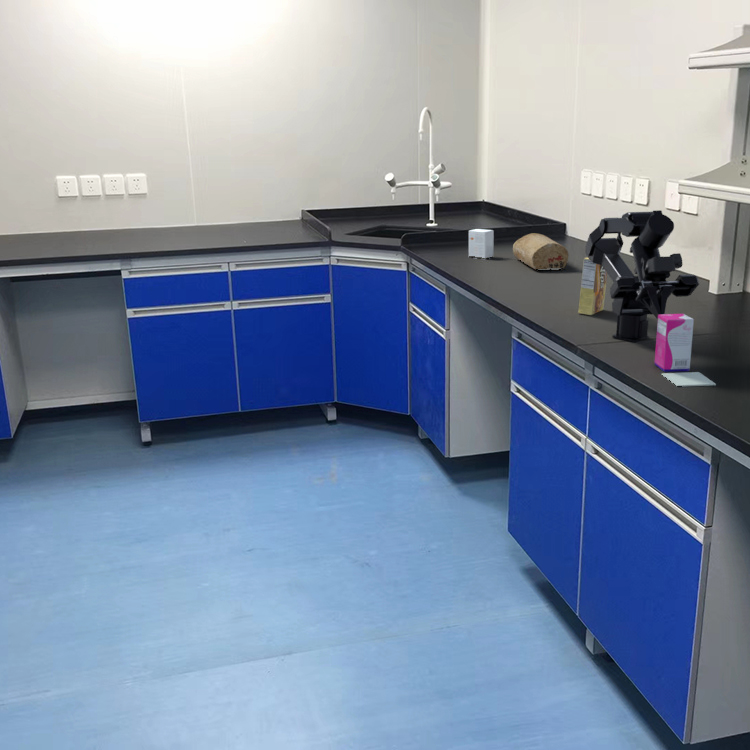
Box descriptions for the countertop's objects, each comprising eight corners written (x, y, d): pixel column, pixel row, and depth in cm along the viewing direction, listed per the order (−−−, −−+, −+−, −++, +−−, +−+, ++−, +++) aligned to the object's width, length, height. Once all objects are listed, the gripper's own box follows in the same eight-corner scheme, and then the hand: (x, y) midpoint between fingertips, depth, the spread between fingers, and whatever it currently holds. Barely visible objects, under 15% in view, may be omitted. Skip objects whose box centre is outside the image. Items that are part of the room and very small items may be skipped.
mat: (661, 374, 174) (661, 373, 174) (698, 373, 174) (698, 372, 174) (676, 386, 166) (677, 385, 166) (715, 385, 167) (715, 383, 167)
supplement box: (679, 363, 181) (684, 312, 178) (689, 371, 176) (695, 319, 172) (653, 364, 181) (657, 313, 178) (663, 372, 176) (667, 320, 172)
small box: (493, 257, 316) (494, 230, 313) (484, 259, 312) (485, 231, 309) (476, 255, 322) (477, 228, 318) (468, 257, 318) (468, 230, 315)
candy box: (589, 307, 233) (595, 253, 229) (604, 310, 231) (609, 255, 227) (577, 313, 227) (582, 257, 222) (592, 315, 224) (597, 259, 220)
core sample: (531, 272, 287) (532, 244, 284) (511, 260, 312) (512, 233, 309) (570, 271, 288) (572, 242, 285) (547, 258, 313) (549, 232, 310)
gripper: (619, 241, 182) (632, 304, 176) (701, 239, 183) (717, 301, 177) (604, 267, 192) (616, 327, 186) (681, 265, 193) (696, 324, 187)
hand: (661, 319), depth 184 cm, fingers closed
